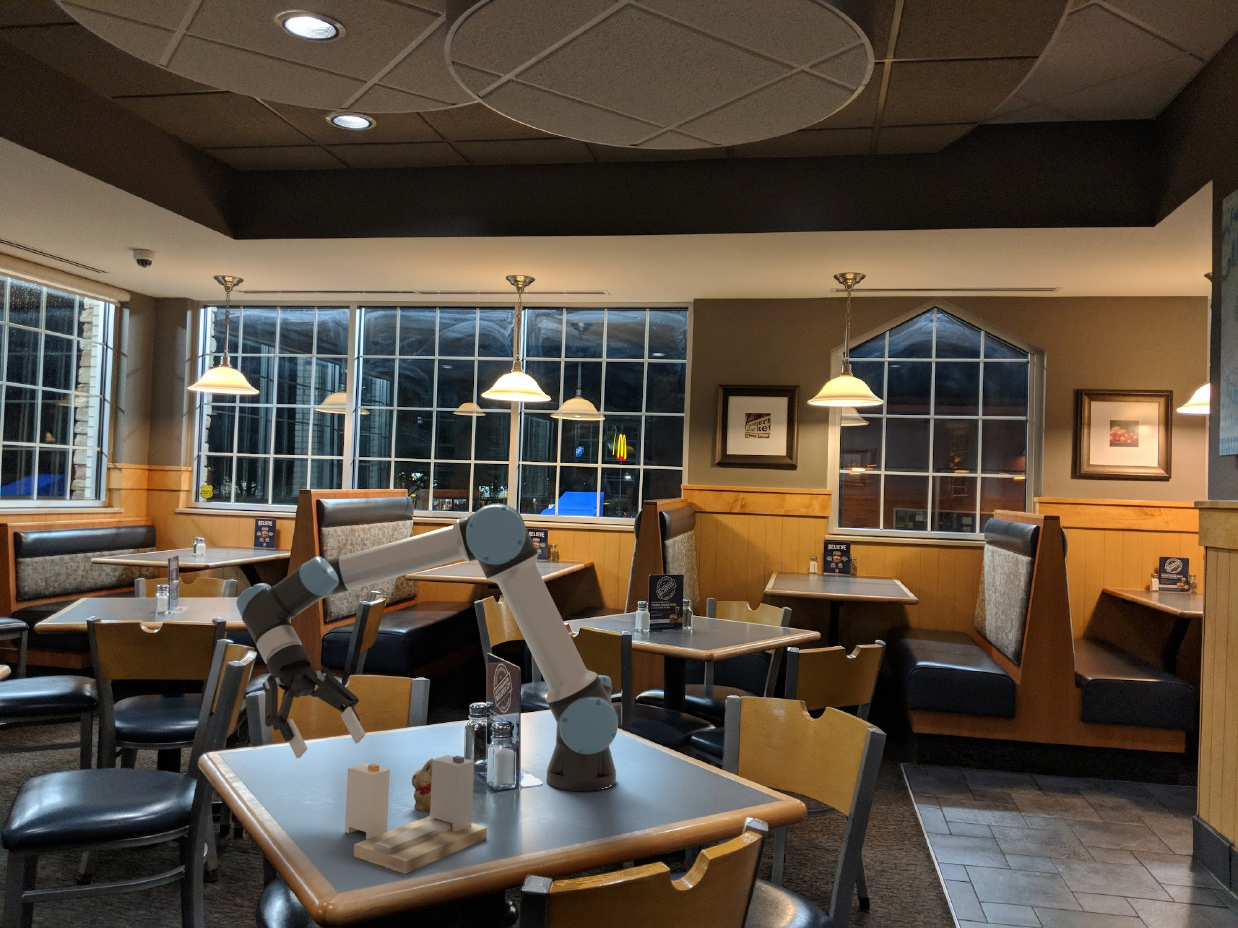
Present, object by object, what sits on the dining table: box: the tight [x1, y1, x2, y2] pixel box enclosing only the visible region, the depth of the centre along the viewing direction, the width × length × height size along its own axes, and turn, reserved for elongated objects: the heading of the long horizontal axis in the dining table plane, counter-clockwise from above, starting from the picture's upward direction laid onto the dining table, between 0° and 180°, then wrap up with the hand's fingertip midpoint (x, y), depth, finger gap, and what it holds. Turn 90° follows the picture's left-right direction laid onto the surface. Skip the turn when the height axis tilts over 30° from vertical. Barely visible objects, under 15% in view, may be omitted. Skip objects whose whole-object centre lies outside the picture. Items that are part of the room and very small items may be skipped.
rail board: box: [353, 815, 488, 875], centre depth 161 cm, size 20×12×3 cm, turn 148°
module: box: [344, 762, 391, 840], centre depth 167 cm, size 6×4×12 cm, turn 58°
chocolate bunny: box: [411, 758, 434, 814], centre depth 181 cm, size 6×8×10 cm
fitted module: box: [429, 754, 475, 831], centre depth 167 cm, size 6×4×12 cm, turn 58°
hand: (332, 746), depth 172 cm, fingers open, 13 cm apart
